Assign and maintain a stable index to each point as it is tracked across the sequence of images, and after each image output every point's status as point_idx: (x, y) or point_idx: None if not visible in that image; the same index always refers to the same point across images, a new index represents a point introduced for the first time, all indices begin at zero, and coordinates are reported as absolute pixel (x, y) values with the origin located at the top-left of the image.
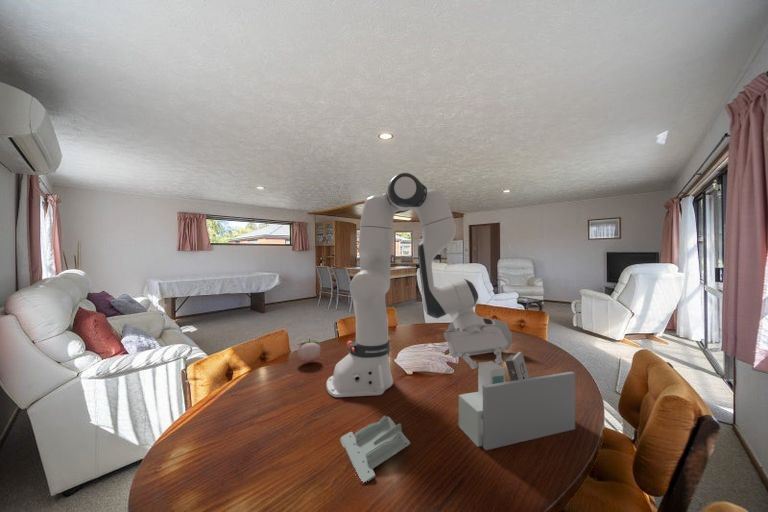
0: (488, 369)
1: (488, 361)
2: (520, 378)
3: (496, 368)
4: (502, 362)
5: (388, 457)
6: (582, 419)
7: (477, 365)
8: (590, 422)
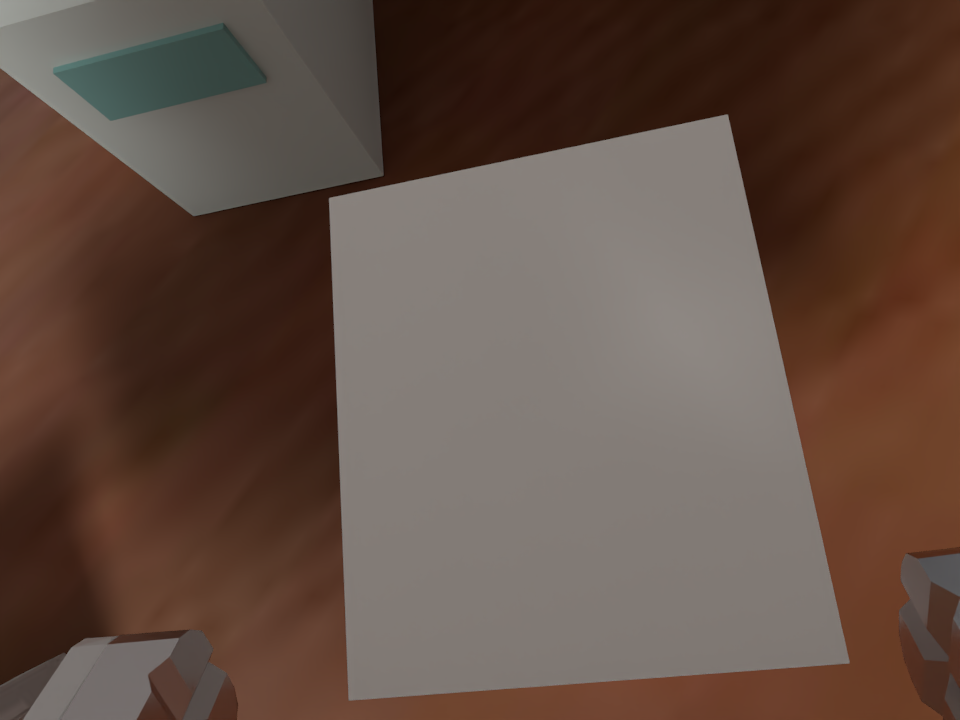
0: (741, 200)
1: (464, 691)
2: (4, 687)
3: (525, 203)
4: (114, 639)
5: None
6: None
7: (916, 552)
8: None
